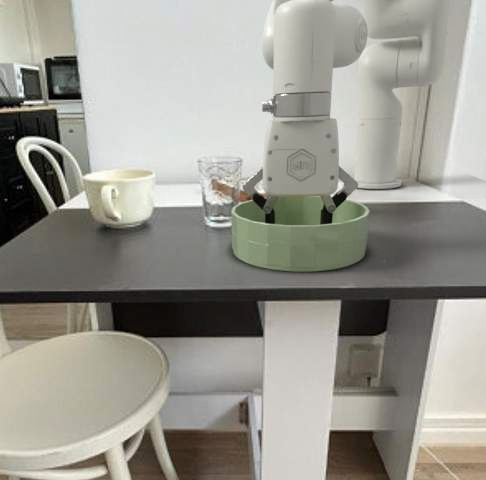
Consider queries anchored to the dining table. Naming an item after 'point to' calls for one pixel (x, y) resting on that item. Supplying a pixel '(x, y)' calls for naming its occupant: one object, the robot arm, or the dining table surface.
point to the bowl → (300, 235)
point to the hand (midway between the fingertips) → (297, 236)
